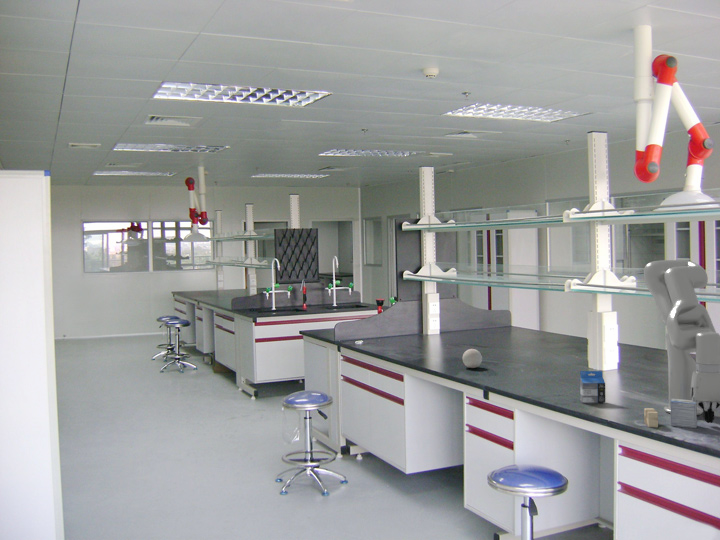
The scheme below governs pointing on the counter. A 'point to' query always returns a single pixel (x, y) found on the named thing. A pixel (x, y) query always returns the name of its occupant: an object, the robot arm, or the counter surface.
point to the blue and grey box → (592, 387)
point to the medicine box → (683, 413)
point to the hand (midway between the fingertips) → (708, 421)
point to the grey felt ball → (472, 358)
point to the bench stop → (650, 417)
